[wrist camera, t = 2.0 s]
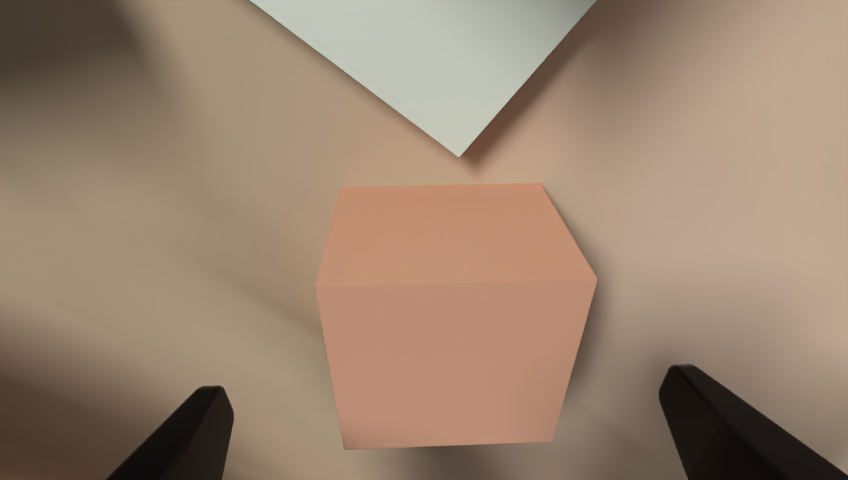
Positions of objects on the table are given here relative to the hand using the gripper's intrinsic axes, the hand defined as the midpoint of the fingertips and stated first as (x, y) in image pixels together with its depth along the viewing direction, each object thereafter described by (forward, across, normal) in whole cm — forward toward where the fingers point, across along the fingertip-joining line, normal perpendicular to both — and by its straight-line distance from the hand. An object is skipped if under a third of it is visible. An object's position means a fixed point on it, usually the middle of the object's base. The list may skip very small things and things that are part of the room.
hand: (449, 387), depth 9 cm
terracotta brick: (+4, 0, 0) cm, 4 cm away
